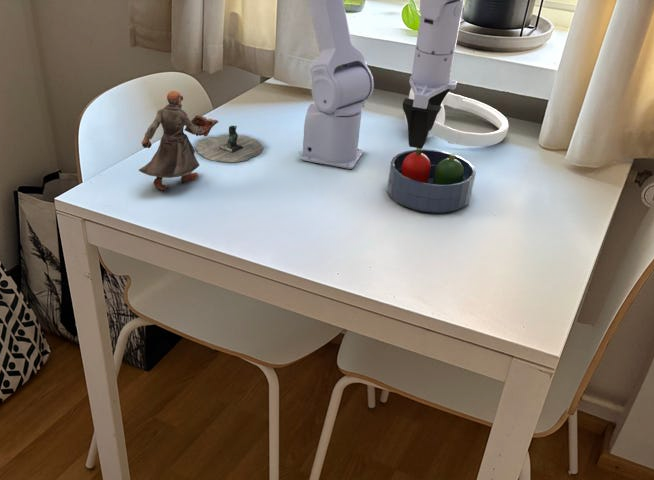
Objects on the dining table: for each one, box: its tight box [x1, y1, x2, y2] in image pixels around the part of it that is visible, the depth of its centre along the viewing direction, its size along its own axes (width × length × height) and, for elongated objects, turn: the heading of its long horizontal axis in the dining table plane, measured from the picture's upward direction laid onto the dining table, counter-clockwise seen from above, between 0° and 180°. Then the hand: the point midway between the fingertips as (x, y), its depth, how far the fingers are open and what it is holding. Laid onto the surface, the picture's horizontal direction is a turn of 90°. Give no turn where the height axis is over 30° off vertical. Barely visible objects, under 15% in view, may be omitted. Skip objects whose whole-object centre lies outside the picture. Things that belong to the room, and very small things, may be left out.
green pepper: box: [433, 153, 464, 185], centre depth 121 cm, size 5×5×7 cm
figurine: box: [138, 90, 219, 191], centre depth 118 cm, size 14×7×15 cm, turn 110°
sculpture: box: [194, 125, 265, 163], centre depth 135 cm, size 12×9×8 cm
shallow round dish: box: [386, 148, 477, 214], centre depth 122 cm, size 14×14×5 cm
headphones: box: [404, 87, 510, 148], centre depth 144 cm, size 20×8×20 cm
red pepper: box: [401, 148, 431, 183], centre depth 122 cm, size 5×5×7 cm
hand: (420, 137), depth 118 cm, fingers open, 7 cm apart
